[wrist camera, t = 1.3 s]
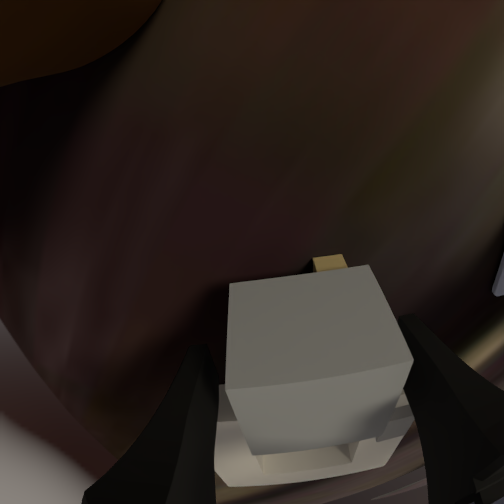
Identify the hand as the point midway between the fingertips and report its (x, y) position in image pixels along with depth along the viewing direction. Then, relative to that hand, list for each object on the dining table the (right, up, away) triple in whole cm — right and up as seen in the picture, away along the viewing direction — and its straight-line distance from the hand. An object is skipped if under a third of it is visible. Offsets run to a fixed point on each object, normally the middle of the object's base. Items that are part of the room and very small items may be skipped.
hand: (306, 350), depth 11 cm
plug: (0, +2, +2) cm, 3 cm away
